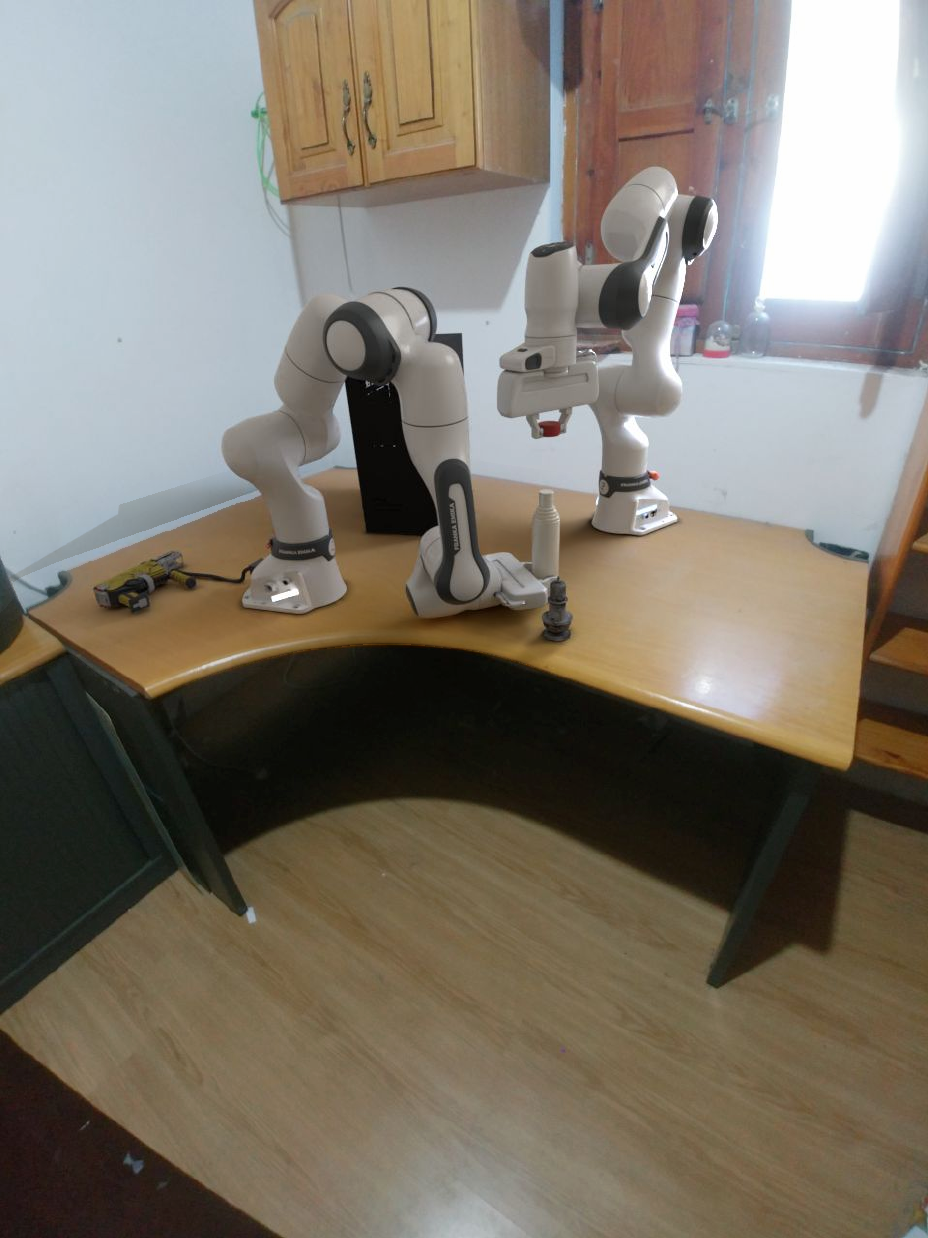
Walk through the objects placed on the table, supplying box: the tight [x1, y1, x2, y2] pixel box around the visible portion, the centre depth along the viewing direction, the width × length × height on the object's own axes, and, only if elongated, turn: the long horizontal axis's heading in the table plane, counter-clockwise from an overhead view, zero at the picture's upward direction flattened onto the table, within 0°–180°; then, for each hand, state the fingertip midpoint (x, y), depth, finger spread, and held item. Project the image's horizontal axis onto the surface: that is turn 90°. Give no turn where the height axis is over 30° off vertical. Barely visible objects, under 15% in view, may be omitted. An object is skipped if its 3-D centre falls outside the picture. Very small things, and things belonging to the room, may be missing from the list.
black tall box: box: [344, 332, 465, 536], centre depth 165 cm, size 38×20×45 cm, turn 167°
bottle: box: [530, 488, 561, 603], centre depth 121 cm, size 6×6×23 cm
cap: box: [538, 420, 561, 438], centre depth 110 cm, size 4×4×2 cm
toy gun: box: [92, 549, 197, 614], centre depth 138 cm, size 5×24×15 cm
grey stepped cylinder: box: [540, 575, 574, 642], centre depth 110 cm, size 6×6×12 cm
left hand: (548, 572), depth 125 cm, fingers closed on bottle, 5 cm apart
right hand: (548, 435), depth 110 cm, fingers closed on cap, 4 cm apart
